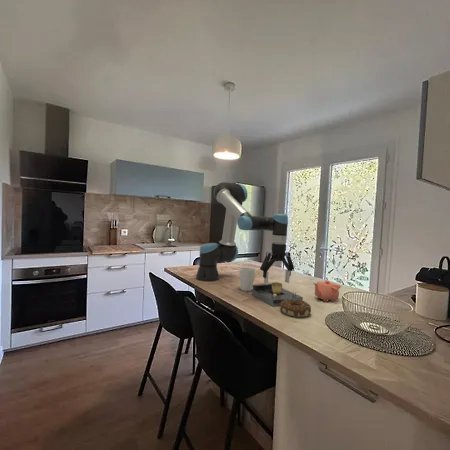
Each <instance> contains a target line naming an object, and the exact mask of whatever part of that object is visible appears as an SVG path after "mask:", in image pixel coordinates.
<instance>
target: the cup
mask: <svg viewBox="0 0 450 450" xmlns="http://www.w3.org/2000/svg"><path fill="white" fill-rule="evenodd" d="M255 271H256V270H255V268H253V267H240V268H239V274H238V275H239V284H240V285H239V286H240V290H241V291H245V292H248V291H249V292H252V289H253V285H254V281H255V274H256V272H255Z"/></svg>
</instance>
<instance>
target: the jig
mask: <svg viewBox="0 0 450 450" xmlns="http://www.w3.org/2000/svg"><path fill="white" fill-rule="evenodd" d="M251 295H252V296H253V297H255V298H257V299H259V300H261V301H262V302H264V303H266V304H268V305H269V306H271V307H273V308H274V307H280V304H281V302H282V301H284V300H288V299H294V300H303V299H304V297H303V296H301V295H299V294H297V292H296V291H290V290H288V289H285V288H283V287H282V290H281V295H277V294H272V283H268V285H266V284H264V283H263V284H253V287H252V290H251ZM303 301H304V300H303Z"/></svg>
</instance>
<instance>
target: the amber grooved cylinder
mask: <svg viewBox="0 0 450 450" xmlns="http://www.w3.org/2000/svg"><path fill="white" fill-rule="evenodd" d="M271 284H272V294H277V295H281V290H282V288H283V283H281V282H272V283H271Z"/></svg>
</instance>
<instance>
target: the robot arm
mask: <svg viewBox="0 0 450 450" xmlns="http://www.w3.org/2000/svg"><path fill="white" fill-rule="evenodd" d="M213 197H214V199H215V200H216V201H217V202H218V203H219V204H222V205H223V206H224V208H225V216H224V217H225V218H224V223H223V230H222V237H221V240H219V241H218V243H216V242H210V243H203V244H201V245H200V248H199V264H198V265H199V266H198V269H197V271H196V274H195V275H196V276H195V279H196V280H198V281H201V282H215V281H218V280H219V278H220V275H219V272H218V263H229V262H234V261H235V260H237V258H238V256H239V248H238V246H237V244H236V242H235V239H236V231H237V228H238V229H239V230H241V231H268V232H272V235H271V242H272V243H271V252H269V251H267V252H265V253H266V254H265V257H264V260H263V262H262V263H261V266H260V267H259V270H260V271H262V277H263V284H266V285H268V284H269V269H271V267H272V266H273V264H274V263H275V262H281V263H282V264H283V265H284V267H285V268H286V269H285V276H284V278H285V279H284V283H287V284H290V278H291V275H292V271H293V270H295V266H294V263H293V260H292V256H291V252H289V251H287V240H288V224H289V216H288V214H286V213H274V214H273V216H258V215H257V216H256V215H252V214H251V213H250V212H249V211H248V210H247V209H246V208H245V207H244V206H243V203H245V202H246V201H247V199H248V189H247V187H246V186H245V185H244V184H241V183H236V182H235V183H234V182H226V181H225V182H224V181H223V182H222V181H221V182H219V183H217V185H215V187H214V189H213Z"/></svg>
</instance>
